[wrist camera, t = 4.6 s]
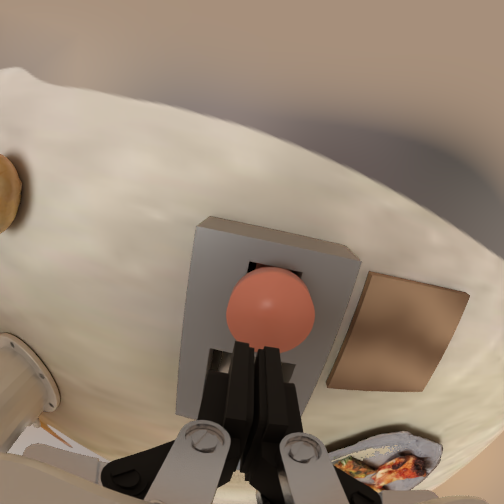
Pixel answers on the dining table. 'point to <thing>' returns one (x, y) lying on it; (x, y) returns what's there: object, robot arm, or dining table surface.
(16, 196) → the onion
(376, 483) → the food plate
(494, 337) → the dining table surface
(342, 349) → the pad
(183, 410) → the housing
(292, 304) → the red round-topped peg
